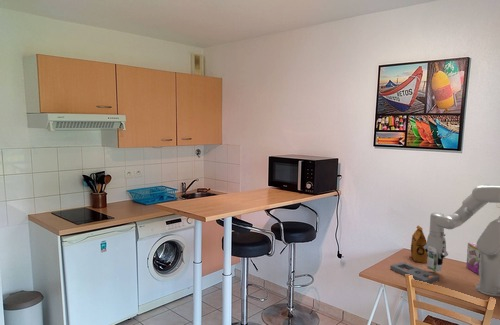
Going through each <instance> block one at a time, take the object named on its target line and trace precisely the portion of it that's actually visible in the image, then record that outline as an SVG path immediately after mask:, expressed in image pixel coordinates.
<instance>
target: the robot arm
mask: <svg viewBox="0 0 500 325" xmlns="http://www.w3.org/2000/svg"><path fill="white" fill-rule="evenodd" d="M489 203H490V204H491V203H494V204H497V203H498V204H499V203H500V185H492V184H486V183H485V184H480V185H478V186H476V187H474V188H473V189H472V191H471V193H470V194H469V195H468V196H467V197H466V198H465V199H463V201H462V203H461V206H460V207H459V208H458V209H457V210H455V212H453V213H451V214H449V215H444V214H443V213H441V212H432V213H431V214H430V216H429V217H430V218H429V233H428V234H427V235H428V236H427V238H426V243H427V244H426V245H425V246H423V247H424V249H425V251H426V252H427V254H428V248H429V246H431V247H434V248H437V253H438V256H439V258H438V265H443V260H444V258H446V257H447V256H449V253H448V251H447V242H446V237H445V236H446V234H445V229H446V230H453V229H456V228H458V227H461V226H462V225H463V224H465V223H466V222H467V221H469V220H470V218H472V217H473V216H474V215H475V214H477V213H478V212H479V210H481V209H482V208H484V206H485V205H487V204H489ZM476 246H477V249H478V251H479V252H480V253H482V255H481V266H480V275H479V280H478V282H479V283H478V284H476V285H475V290H476V291H478V292H479V293H481V294H484V295H487V296H491V297H500V215H499V216H498V217H497V218H496V219H493V220H492V221H490V222H489V223H488V225H487V226H486V227H485V228H484V230H483V232H482V233H481V235H480V236H479V237H478V239H477V241H476ZM442 251H443V252H442Z"/></svg>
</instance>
